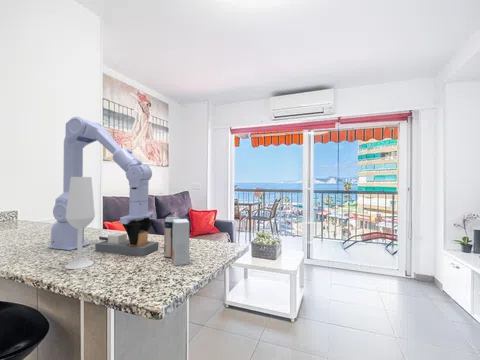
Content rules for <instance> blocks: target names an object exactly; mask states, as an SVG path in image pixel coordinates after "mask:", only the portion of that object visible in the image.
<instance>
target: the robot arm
mask: <svg viewBox="0 0 480 360" xmlns="http://www.w3.org/2000/svg"><path fill="white" fill-rule="evenodd" d="M95 142H99V144H101V145H102V146H103V147H104V148H105V149H106V150H108V151H109V153H111V154H112V160H113V161H114V163H116V164H117V166H118V167H120V168H121V169H122V170H123V171H124V172H125V177H126V179H127V180H128V186H129V193H128V194H129V200H128V201H129V203H128V205H129V207H128V214H126V215H125V216H121V217H120V218H119V224H120V225H122V227H123V228H124V230H125V232H126V234H127V239H129V242H130V244H132V245H136V244H137V241H138V233H139V230H145V231H147V232H148V233H149V230H150V228H151V226H152V224H153V223H154V219H153V218H155V211H149V181H150V180H151V178H152V177H153V172H152V168H150V166H149V165H148V164H143V163H142V162H143V161H142V160H141V159H138V158H137V156H135V154H133V153H134V151H133V150H132V149H128V148H125V147H122V146H120V145H119V143H118V142H117V141H116V140H115V139H114V137H112V136H111V135H110V133H109V132H108V131H107V128H105V127H103V125H102V124H101V123H99V122H95V121H91V120H88V119H85V118H83V117H80V116H73V117H71V118H70V119H69V120H68V121H67V122H66V123H65V136H64V139H63V181H62V182H63V187H62V188H63V191H62V193H61V194H60V195H58V197H56V198H55V204H54V207H53V208H52V216H53V217H54V218H55V220H56V222H54V223H53V224H52V226H51V228H50V229H51V230H50V245H48V247H47V248H49V249H55V250H56V249H57V250H65V251H72V250H75V249H76V250H77V239H78V229H76V228H74V227H73V226H71V225H70V224H69V223H68V222H67V220H66V218H65V217H66V210H67V202H68V195H69V188H70V180H71V177H84V176H83V175H84V173H83V170H84V169H83V168H84V167H83V166H84V165H83V163H84V161H83V159H84V158H83V157H84V154H83V153H84V151H83V150H84V148H85V147H86V146H88V145H90V144H93V143H95ZM89 245H91V243H90V242H85V228H84V229H83V243H82V248H83V247H86V246H89Z"/></svg>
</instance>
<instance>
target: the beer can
mask: <svg viewBox="0 0 480 360" xmlns="http://www.w3.org/2000/svg"><path fill="white" fill-rule="evenodd" d="M173 219H180V217H179V216H167V217H165V219H164V235H163V236H164V237H163V238H164V239H163V243H164V244H163V256H164V257H166V258H169V259H172V238H173Z"/></svg>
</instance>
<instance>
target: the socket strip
mask: <svg viewBox="0 0 480 360" xmlns="http://www.w3.org/2000/svg"><path fill="white" fill-rule="evenodd" d="M98 240H100V242H97V243H95V245H94V247H95V248H94V252H96V253H97V252H99V253H107V254H108V253H109V254H118V255H124V256H126V255H127V256H136V257H145V256H147V255H150V254H151V253H154V252H156V251H159V241H152V240H151V241H150V240H148V244H145V245H143V246H140V247H138V246H129V238H128V235H127V233H123V232H114V233H111V234H107V236H100V237H99V239H98Z"/></svg>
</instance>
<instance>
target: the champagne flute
mask: <svg viewBox="0 0 480 360" xmlns="http://www.w3.org/2000/svg"><path fill="white" fill-rule="evenodd" d="M95 217H96V214H95V204H94V191H93V179H92V177H91V176H90V177H89V176H83V177H71V180H70V188H69V195H68V202H67V210H66V217H65V218H66V220H67V222H68V223H69V224H70V225H71V226H73V227H74V228H76V229H78V239H77V248H76V258H74V259H73V260H71V261H70V262H69V263H67V264H65V266H64V268H65V269H67V270H76V269H85V268H87V267H90V266H92V265H94V261H92V260H90V259H87V258H86V257H83V247H82V243H83V229H84V230H85V228H86V227H88V226H89V225H90V224H91V223H92V222H93V221H94V219H95Z"/></svg>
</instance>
